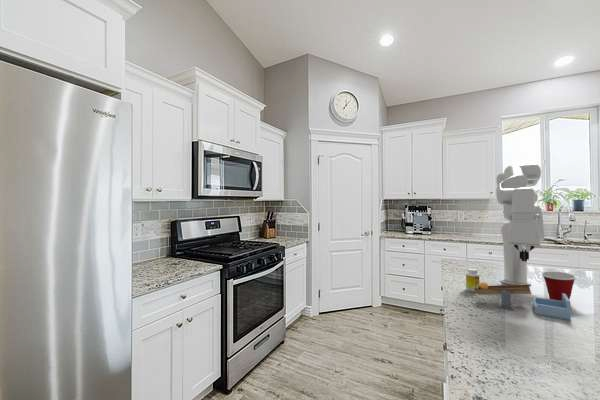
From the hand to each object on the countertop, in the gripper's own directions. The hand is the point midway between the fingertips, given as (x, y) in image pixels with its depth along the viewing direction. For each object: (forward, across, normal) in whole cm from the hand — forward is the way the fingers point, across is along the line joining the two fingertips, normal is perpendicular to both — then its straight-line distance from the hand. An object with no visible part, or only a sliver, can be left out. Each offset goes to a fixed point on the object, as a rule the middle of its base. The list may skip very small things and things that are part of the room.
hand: (524, 260), depth 115 cm
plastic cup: (+18, -12, -12) cm, 25 cm away
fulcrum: (+18, +6, +5) cm, 20 cm away
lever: (+13, +7, +3) cm, 15 cm away
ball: (+12, +14, +6) cm, 19 cm away
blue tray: (+18, -7, +5) cm, 20 cm away
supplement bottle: (+18, +19, -10) cm, 28 cm away
